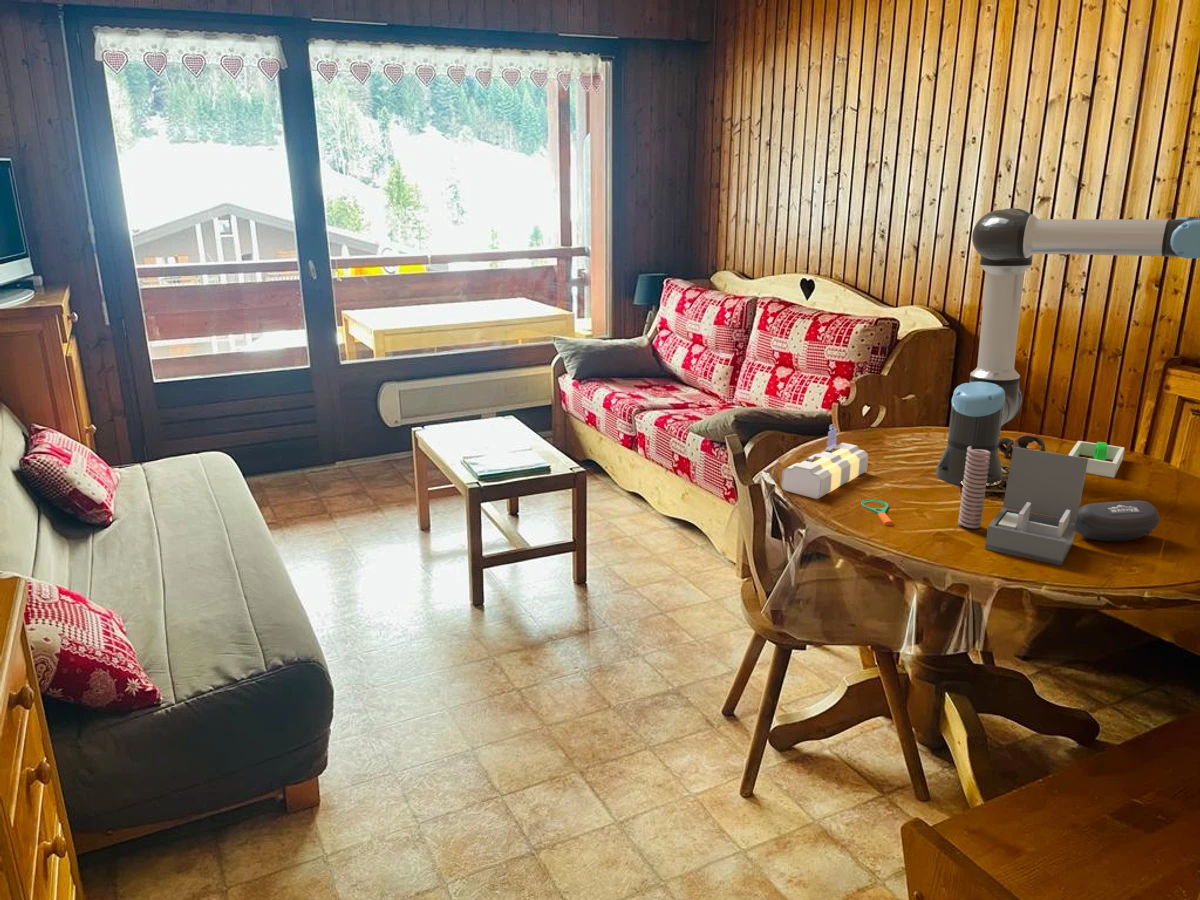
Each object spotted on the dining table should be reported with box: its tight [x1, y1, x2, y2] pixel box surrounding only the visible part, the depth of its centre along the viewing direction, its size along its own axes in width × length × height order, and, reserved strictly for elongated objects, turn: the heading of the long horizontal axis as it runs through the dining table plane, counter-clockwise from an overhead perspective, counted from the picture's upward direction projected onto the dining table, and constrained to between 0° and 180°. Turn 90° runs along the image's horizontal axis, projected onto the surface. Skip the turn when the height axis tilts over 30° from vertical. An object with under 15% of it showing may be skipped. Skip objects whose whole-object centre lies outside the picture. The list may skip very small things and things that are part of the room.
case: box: [984, 447, 1090, 566], centre depth 176 cm, size 14×16×18 cm
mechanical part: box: [1093, 441, 1108, 461], centre depth 231 cm, size 12×6×8 cm, turn 157°
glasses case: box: [1075, 500, 1160, 542], centre depth 181 cm, size 18×10×8 cm, turn 99°
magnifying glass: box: [860, 498, 894, 527], centre depth 195 cm, size 15×6×2 cm, turn 178°
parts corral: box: [1068, 440, 1125, 479], centre depth 226 cm, size 11×17×4 cm, turn 144°
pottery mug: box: [998, 434, 1047, 458], centre depth 230 cm, size 12×9×8 cm
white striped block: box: [781, 424, 869, 500], centre depth 213 cm, size 25×10×13 cm, turn 139°
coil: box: [957, 446, 991, 529], centre depth 184 cm, size 5×5×18 cm
